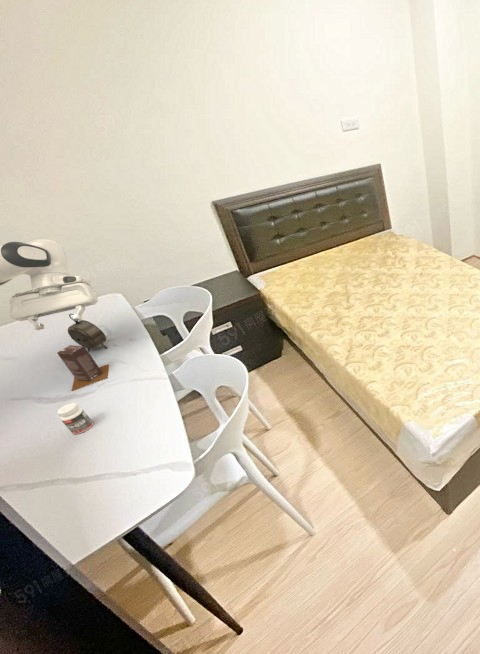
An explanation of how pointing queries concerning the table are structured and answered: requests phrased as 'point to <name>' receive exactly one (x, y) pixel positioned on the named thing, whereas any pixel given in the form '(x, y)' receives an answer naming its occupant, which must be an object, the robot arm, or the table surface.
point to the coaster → (79, 383)
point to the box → (80, 363)
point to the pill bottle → (75, 418)
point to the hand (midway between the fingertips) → (59, 324)
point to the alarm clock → (86, 334)
